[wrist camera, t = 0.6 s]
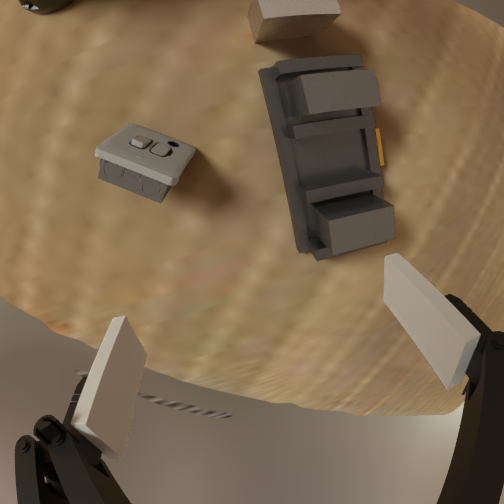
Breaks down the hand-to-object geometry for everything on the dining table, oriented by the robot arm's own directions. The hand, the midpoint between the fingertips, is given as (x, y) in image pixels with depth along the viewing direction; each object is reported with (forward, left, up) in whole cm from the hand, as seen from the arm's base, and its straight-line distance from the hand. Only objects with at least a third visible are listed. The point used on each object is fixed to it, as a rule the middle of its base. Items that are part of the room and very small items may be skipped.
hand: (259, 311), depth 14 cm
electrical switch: (-7, -8, -25) cm, 28 cm away
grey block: (-20, +11, -25) cm, 34 cm away
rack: (-2, +13, -25) cm, 28 cm away
